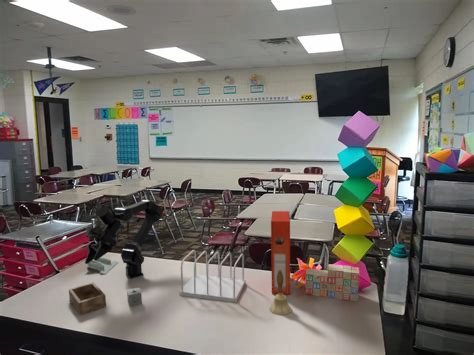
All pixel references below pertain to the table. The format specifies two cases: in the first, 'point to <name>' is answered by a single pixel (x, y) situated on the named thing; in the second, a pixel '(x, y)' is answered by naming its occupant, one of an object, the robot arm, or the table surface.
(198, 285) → the file sorter
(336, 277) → the stack of blocks
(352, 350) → the table surface
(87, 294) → the open wooden box
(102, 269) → the metal bracket
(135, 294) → the dice cube
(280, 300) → the hand bell
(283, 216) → the file binder
